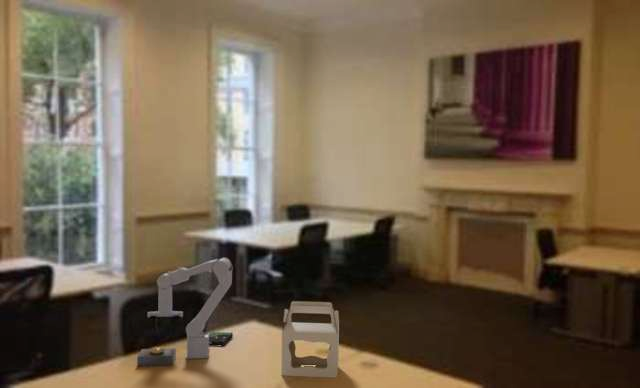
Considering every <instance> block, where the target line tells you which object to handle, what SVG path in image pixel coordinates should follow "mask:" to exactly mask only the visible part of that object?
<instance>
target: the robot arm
mask: <svg viewBox="0 0 640 388" xmlns="http://www.w3.org/2000/svg"><path fill="white" fill-rule="evenodd" d="M233 268H234V267H233V264H232V262H231V260H230V259H229V258H228V257H221V258H219V259H217V258H215V259H212V260H208V261H206V262H203V263H201V264H198V265H195V266H193V267H190V268H187V267H182V266H178V268H177V269H175V270H172V271H170V270H169V271H167V273H162V274H161V275H160V276H159V277H158V278H157V279H156V284H157V287H158V296H157V297H158V301H157V302H158V307H157V308H158V310H156V311H154V310H153V311H148V312H147V316H146V317H147V318H149V322H150V323H151V325H152V327H153V331H154V335H157V334H158V318H159V317H160V318H165V317H166V318H167V317H168V318H169V317H171V318H172V320H173V321H172V322H173V329H172V330H173V331H172V333H173V335H175V334H176V331H177V330H176V329H177V326H178V324H179V321H180V318H183V316H184V311H179V310H178V311H177V310H173V285H174V286H175V285H178V284H180V283H183V282H186V281H187V282H188V281H189V279H190V277H192V276H194V275H197V274H202V273H205V272H209V273H214V274H215V276H216V277H217V281H218V285H217V286H216V288H215V289H214V290H213V292H212V293H211V295H210V296H209V298H208V299H207V301H206V302H205V303H204V305H203V306H202V308H201V310H200V311H199V312H198V313H197V315H196V316H195V317H194V318H193V319H192V320H191V321H190V322H189V323H187V325H186V326H185V332H186V354H185V357H184V359H186V360H187V359H209V354H210V352H211V351H210V345H209V334H205V332H204V330H205V327H206V323H207V321H208V320H209V318H210V316H212V315H211V314H212V313H213V312H214V310H215V309H216V307H217V306H218V305H219V303H220V301H221V300H222V299H223V297H224V296H225V295H226V293H227V292H228V291H229V289H230V288H231V286H232V283H233Z"/></svg>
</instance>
